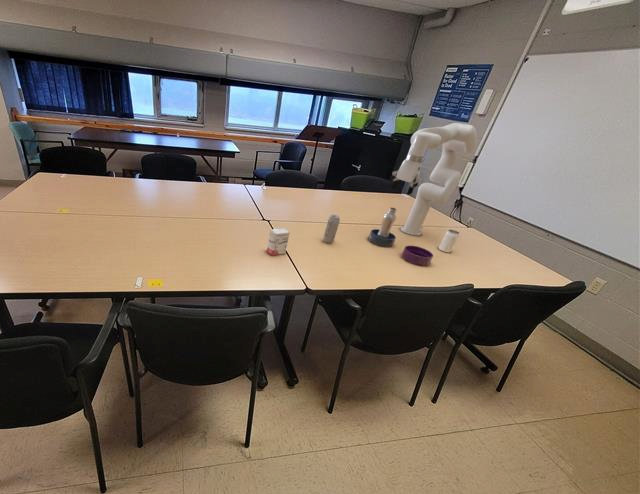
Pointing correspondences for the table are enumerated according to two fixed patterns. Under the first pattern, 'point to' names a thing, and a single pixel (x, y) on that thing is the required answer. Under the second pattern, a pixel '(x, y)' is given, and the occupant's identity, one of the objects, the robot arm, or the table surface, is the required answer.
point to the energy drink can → (331, 229)
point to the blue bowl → (379, 240)
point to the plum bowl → (417, 255)
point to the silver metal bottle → (387, 223)
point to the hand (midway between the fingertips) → (400, 191)
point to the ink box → (278, 241)
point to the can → (448, 240)
